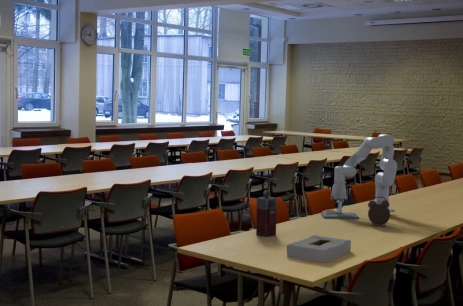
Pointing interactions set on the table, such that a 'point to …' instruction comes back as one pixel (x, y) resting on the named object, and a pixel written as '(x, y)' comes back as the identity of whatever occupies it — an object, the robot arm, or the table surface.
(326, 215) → the plate
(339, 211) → the peg
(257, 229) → the maroon square bottle
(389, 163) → the robot arm
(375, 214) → the alarm clock
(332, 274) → the table surface
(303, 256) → the box
